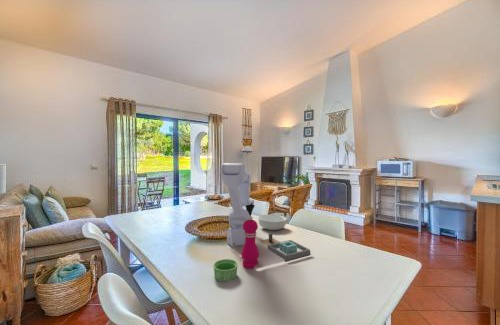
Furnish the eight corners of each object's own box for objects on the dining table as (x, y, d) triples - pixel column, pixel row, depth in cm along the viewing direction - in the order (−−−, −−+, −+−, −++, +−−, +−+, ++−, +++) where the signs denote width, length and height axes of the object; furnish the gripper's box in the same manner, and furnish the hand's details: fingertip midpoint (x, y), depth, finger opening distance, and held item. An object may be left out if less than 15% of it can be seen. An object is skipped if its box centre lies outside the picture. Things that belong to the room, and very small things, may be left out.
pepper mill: (261, 262, 96) (261, 214, 95) (256, 270, 89) (256, 219, 88) (244, 259, 98) (245, 213, 98) (238, 267, 91) (238, 217, 91)
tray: (285, 262, 96) (285, 255, 96) (267, 250, 108) (267, 244, 108) (310, 255, 103) (310, 249, 103) (290, 245, 115) (290, 239, 115)
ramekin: (215, 284, 80) (215, 271, 79) (211, 271, 88) (211, 260, 88) (240, 280, 82) (240, 268, 82) (234, 268, 91) (234, 257, 91)
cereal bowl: (288, 234, 131) (288, 221, 131) (258, 233, 131) (258, 221, 131) (284, 225, 148) (284, 214, 148) (258, 224, 148) (258, 214, 148)
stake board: (268, 248, 111) (268, 237, 111) (259, 242, 118) (259, 232, 118) (281, 244, 115) (281, 235, 115) (272, 239, 122) (272, 230, 122)
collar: (288, 255, 101) (288, 247, 101) (279, 250, 107) (279, 242, 106) (298, 253, 104) (298, 245, 103) (289, 248, 109) (289, 240, 109)
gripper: (240, 197, 119) (240, 223, 120) (258, 193, 130) (258, 217, 131) (231, 195, 123) (231, 220, 124) (248, 191, 134) (248, 214, 135)
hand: (244, 218), depth 128 cm, fingers open, 7 cm apart
